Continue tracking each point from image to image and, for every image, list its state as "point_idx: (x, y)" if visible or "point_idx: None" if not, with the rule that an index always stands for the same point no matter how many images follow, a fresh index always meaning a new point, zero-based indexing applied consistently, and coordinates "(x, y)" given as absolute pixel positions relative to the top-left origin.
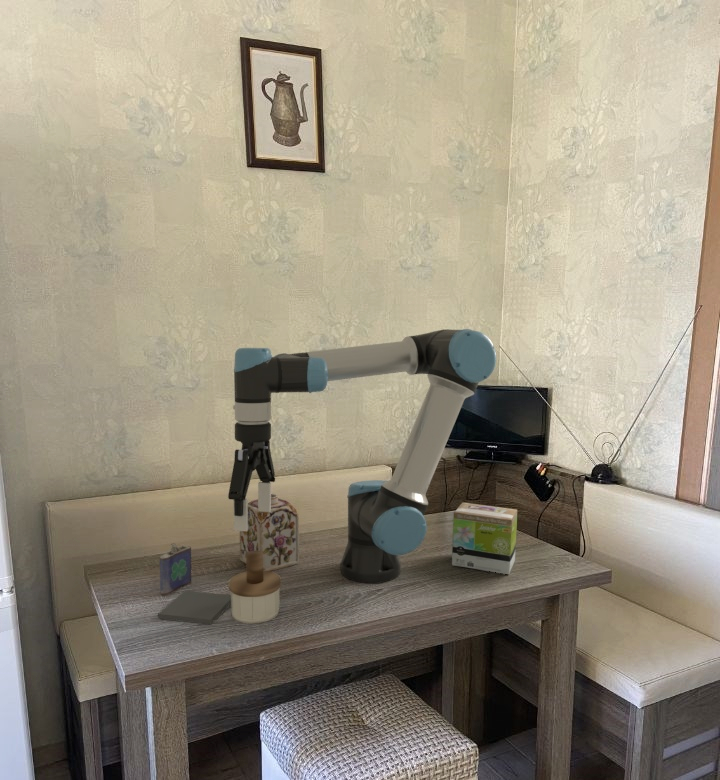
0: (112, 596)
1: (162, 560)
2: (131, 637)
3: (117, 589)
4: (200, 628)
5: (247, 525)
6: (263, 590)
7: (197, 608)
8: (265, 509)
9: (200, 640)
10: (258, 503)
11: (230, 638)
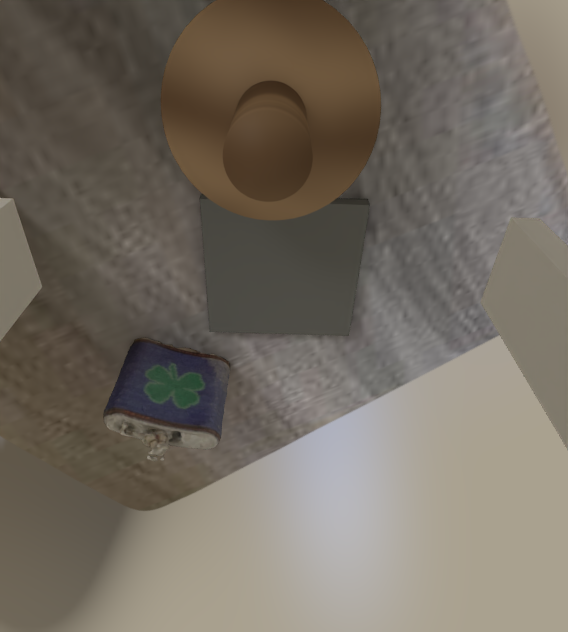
0: (260, 439)
1: (220, 436)
2: (439, 340)
3: (227, 445)
4: (392, 217)
5: (533, 236)
6: (363, 43)
7: (306, 265)
8: (15, 243)
9: (460, 191)
10: (12, 323)
11: (452, 109)
